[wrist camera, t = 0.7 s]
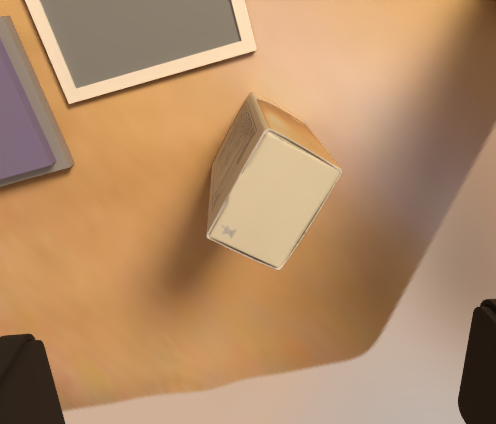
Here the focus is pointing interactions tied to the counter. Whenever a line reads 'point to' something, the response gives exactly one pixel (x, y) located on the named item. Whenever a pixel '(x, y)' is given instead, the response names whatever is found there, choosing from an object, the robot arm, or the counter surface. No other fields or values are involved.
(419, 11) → the counter surface
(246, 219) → the skincare box
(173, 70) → the white picture frame
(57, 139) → the ink pad
